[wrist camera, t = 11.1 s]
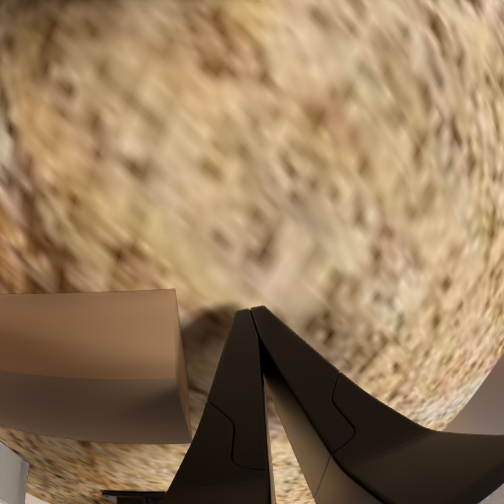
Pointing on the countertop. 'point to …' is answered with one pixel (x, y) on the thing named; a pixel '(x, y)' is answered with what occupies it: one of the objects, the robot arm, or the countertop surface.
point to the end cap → (12, 476)
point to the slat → (94, 366)
